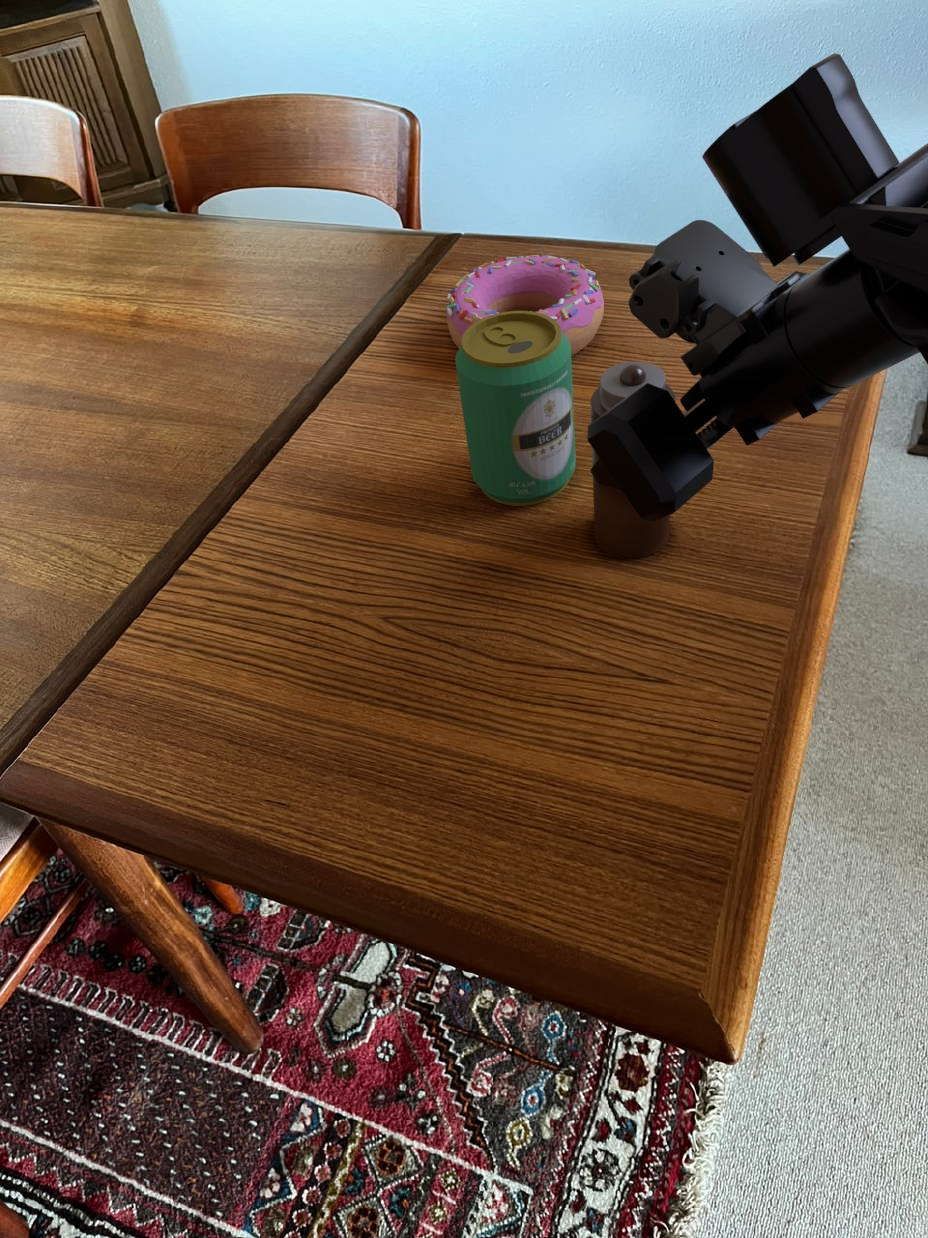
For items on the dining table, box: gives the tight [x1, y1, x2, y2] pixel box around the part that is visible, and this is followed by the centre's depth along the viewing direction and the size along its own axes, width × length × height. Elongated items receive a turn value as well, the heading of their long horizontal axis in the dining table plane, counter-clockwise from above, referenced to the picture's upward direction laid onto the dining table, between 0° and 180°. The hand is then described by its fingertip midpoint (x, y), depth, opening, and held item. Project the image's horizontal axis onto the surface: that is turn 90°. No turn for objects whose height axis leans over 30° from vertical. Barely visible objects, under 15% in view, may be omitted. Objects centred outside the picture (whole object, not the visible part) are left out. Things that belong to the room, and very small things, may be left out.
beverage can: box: [454, 311, 577, 507], centre depth 68 cm, size 8×8×12 cm
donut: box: [445, 254, 605, 357], centre depth 85 cm, size 14×14×5 cm
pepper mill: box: [590, 361, 676, 560], centre depth 61 cm, size 5×5×14 cm
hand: (641, 439), depth 60 cm, fingers open, 9 cm apart
